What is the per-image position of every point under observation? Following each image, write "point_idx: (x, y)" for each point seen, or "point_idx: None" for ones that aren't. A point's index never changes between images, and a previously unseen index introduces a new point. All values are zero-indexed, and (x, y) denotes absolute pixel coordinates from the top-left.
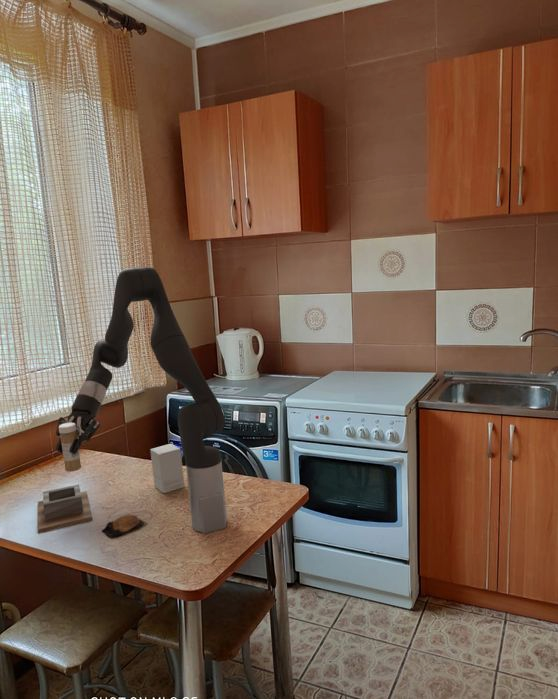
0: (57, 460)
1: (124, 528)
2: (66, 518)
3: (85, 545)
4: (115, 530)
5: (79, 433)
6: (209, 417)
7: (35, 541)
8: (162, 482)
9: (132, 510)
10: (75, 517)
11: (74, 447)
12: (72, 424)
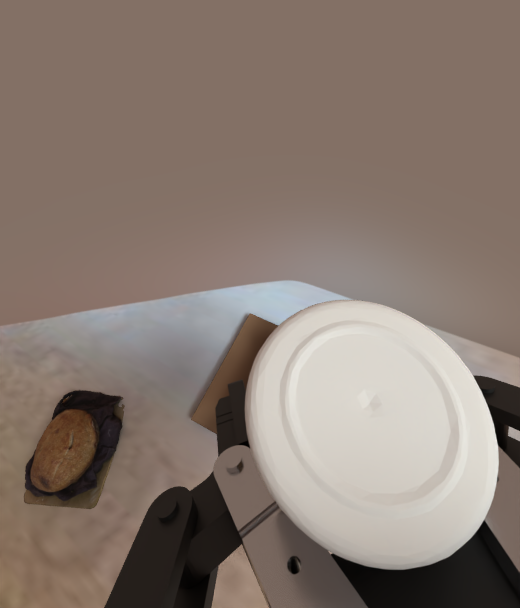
0: None
1: (48, 425)
2: (242, 374)
3: (111, 343)
4: (71, 409)
5: (236, 507)
6: None
7: (221, 298)
8: None
9: (129, 536)
10: (226, 389)
11: (225, 409)
12: (298, 465)
